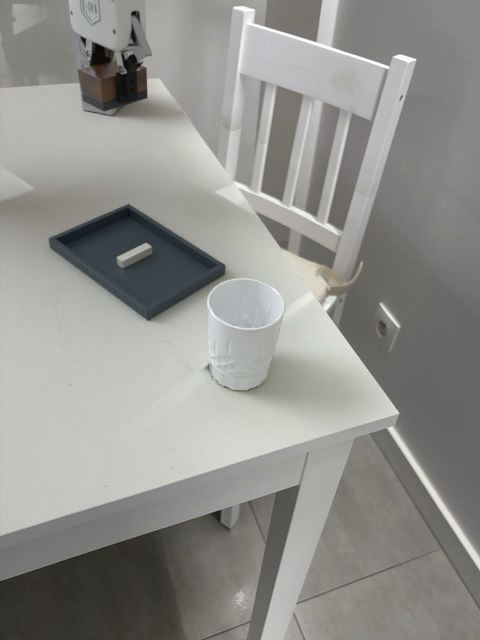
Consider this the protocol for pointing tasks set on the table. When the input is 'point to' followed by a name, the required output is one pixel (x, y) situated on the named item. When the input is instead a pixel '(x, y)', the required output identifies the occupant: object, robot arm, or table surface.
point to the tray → (144, 275)
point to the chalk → (134, 255)
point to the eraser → (107, 85)
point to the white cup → (243, 331)
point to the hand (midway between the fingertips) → (115, 93)
